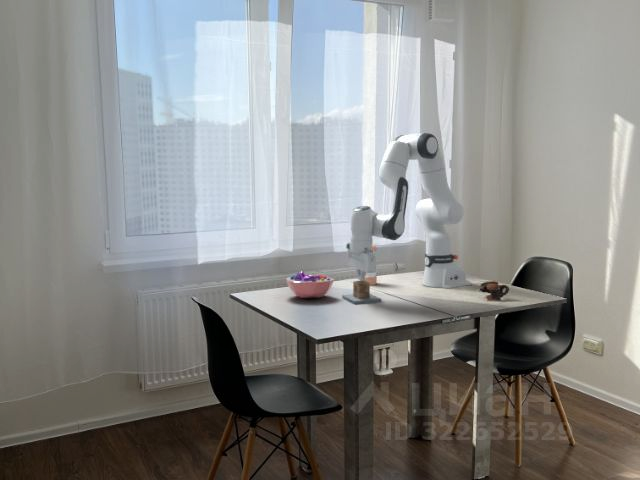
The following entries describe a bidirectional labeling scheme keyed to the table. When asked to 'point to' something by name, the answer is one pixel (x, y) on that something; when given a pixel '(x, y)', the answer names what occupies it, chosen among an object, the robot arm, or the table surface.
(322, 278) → the cell model
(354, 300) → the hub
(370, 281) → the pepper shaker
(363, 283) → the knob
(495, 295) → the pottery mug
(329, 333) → the table surface
